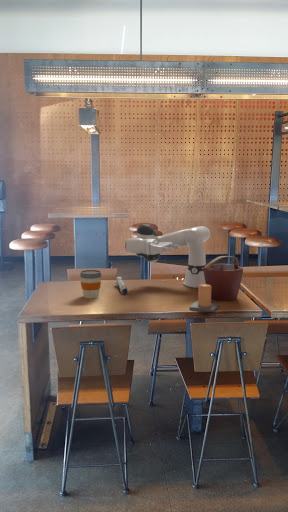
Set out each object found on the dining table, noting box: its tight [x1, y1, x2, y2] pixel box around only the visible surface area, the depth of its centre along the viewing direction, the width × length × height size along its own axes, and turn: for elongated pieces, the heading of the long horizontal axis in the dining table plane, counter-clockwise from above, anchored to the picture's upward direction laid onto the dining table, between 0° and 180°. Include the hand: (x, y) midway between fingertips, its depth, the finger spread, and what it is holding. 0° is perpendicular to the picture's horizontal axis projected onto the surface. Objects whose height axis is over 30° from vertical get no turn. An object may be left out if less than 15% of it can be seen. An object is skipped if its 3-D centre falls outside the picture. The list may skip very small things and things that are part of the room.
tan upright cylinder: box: [197, 284, 212, 307], centre depth 245 cm, size 7×7×11 cm
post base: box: [189, 300, 220, 313], centre depth 246 cm, size 13×13×8 cm
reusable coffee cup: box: [79, 269, 102, 299], centre depth 269 cm, size 13×13×15 cm
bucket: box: [204, 255, 244, 302], centre depth 266 cm, size 24×22×25 cm
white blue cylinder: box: [114, 276, 129, 295], centre depth 287 cm, size 5×7×25 cm
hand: (175, 248), depth 248 cm, fingers open, 8 cm apart
